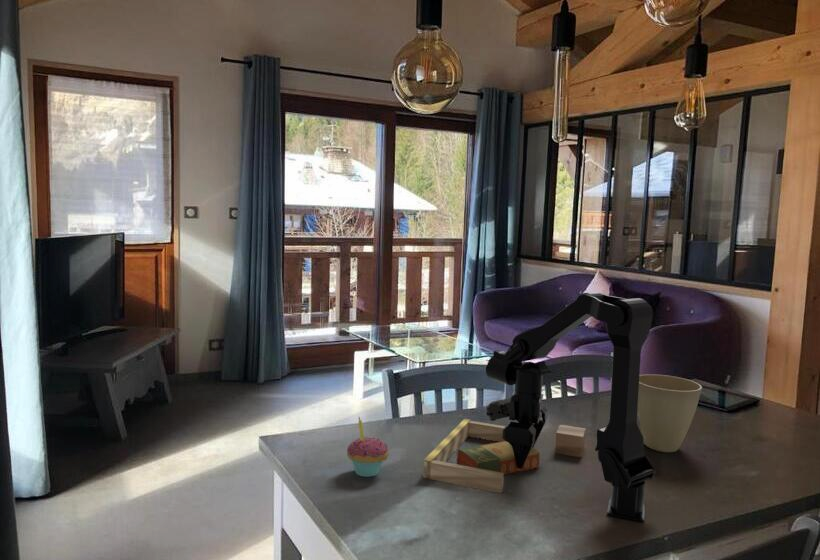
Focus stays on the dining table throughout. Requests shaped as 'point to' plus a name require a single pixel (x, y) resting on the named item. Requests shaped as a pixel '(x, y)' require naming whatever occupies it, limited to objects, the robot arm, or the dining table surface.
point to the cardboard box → (570, 440)
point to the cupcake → (367, 454)
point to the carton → (495, 458)
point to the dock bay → (458, 473)
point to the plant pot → (666, 410)
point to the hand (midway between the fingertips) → (523, 460)
